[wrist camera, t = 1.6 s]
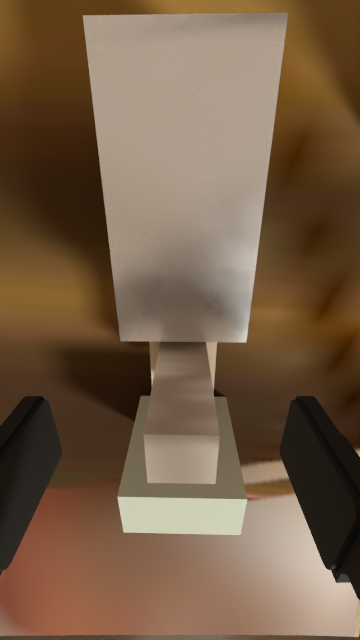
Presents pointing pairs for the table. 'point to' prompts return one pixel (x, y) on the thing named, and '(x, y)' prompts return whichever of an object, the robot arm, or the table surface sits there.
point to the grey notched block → (184, 164)
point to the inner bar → (182, 414)
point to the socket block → (183, 489)
